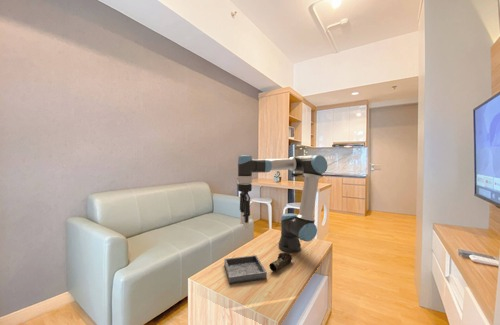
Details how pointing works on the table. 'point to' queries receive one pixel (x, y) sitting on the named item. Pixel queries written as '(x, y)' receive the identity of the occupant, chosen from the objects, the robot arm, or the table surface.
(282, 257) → the metal pipe
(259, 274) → the grey square tray
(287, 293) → the table surface
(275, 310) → the table surface
